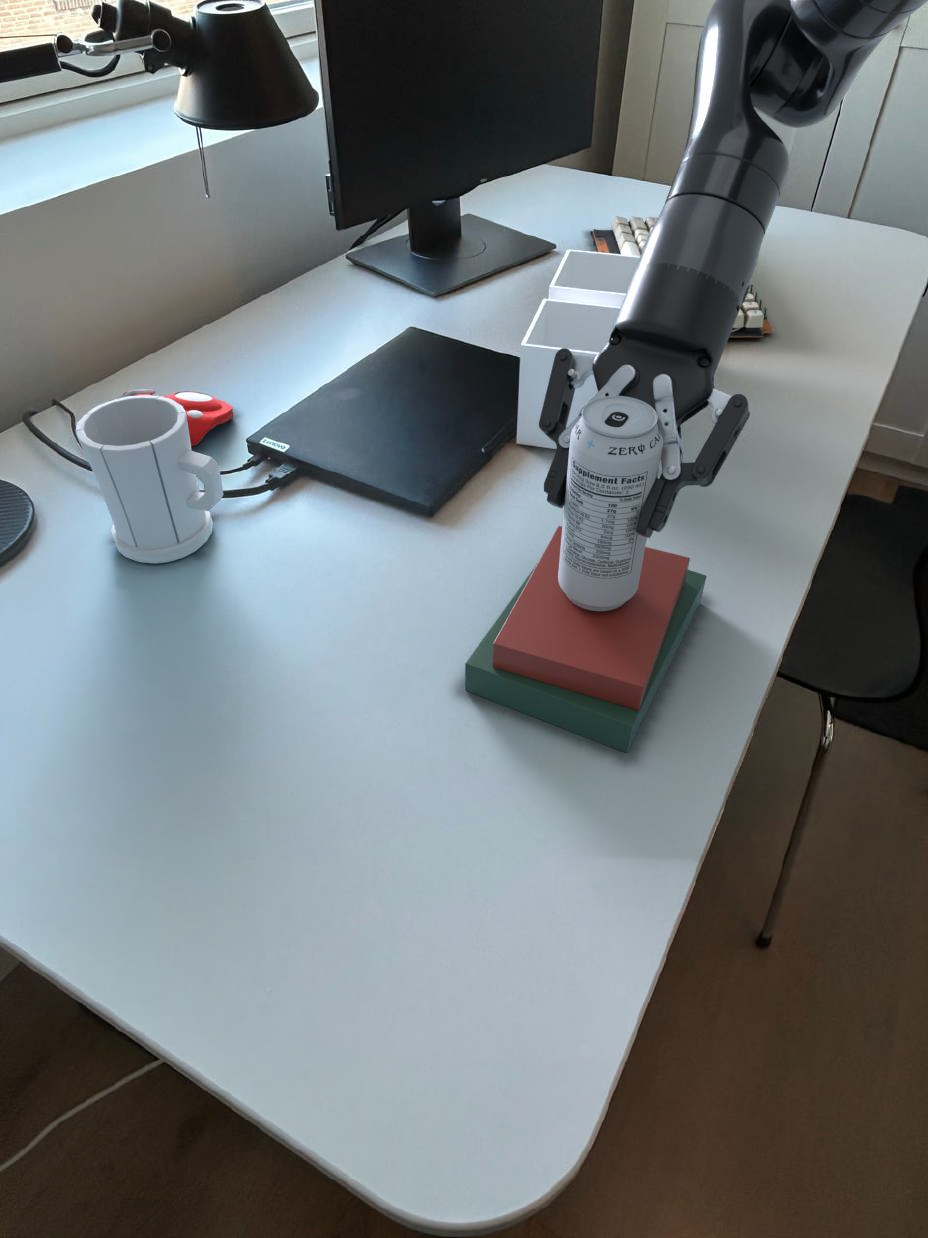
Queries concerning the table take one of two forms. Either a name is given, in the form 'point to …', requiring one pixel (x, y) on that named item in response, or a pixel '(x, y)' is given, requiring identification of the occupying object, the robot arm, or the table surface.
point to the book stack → (586, 648)
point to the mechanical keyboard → (631, 242)
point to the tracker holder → (196, 411)
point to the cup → (150, 477)
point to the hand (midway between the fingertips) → (598, 518)
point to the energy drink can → (607, 501)
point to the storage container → (570, 331)
